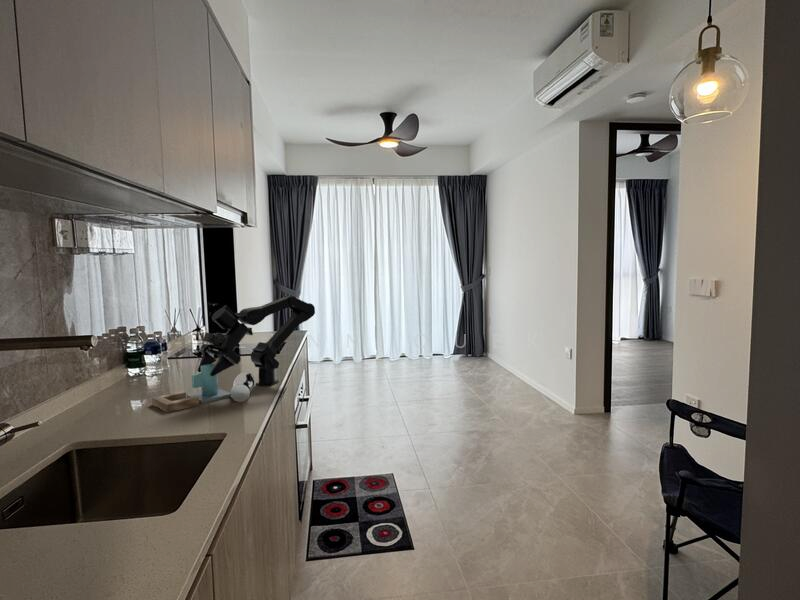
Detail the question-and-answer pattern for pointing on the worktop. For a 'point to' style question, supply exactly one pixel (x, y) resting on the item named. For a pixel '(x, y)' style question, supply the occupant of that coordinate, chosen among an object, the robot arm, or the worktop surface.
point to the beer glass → (242, 387)
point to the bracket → (174, 401)
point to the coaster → (206, 399)
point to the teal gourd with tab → (206, 380)
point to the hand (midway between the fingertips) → (204, 373)
